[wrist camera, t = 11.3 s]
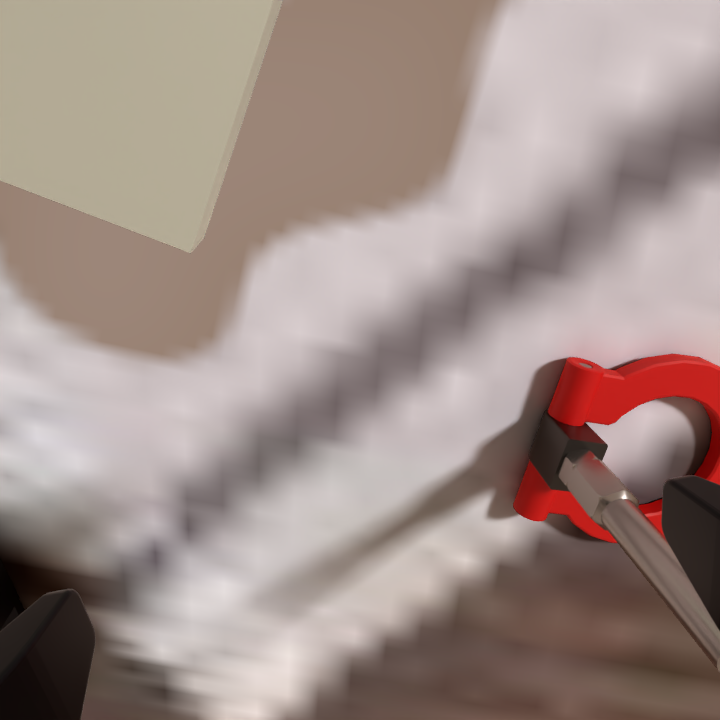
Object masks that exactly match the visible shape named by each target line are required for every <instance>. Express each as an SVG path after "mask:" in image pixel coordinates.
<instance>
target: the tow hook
mask: <svg viewBox="0 0 720 720" xmlns="http://www.w3.org/2000/svg"><path fill="white" fill-rule="evenodd" d="M672 396H676V397H685V398H691V399H693V400H696V401H698V402H700V403H701V404H702V405H703V406H704V408H705V410H706V412H707V414H708V416H709V418H710V421H711V429H712V436H711V442H710V448H709V450H708V453H707V455H706V457H705V459H704V462H703V463H702V465H701V466H700V468H699V469H698V470H697V472H696V473H695V474H694V475H695V476H698V477H700V478H703V479H706V480H708V481H711V482H714V483H716V484H719V485H720V367H719V366H717V365H715V364H713V363H711V362H709V361H706V360H704V359H702V358H700V357H695V356H687V355H679V354H668V355H661V356H654V357H647V358H644V359H641V360H638V361H636V362H633V363H631V364H628V365H625V366H623V367H620V368H618V369H616V370H610V369H604V368H602V367H601V366H599V365H597V364H595V363H593V362H591V361H588V360H585V359H581V358H575V357H569V358H567V360H566V363H565V366H564V368H563V371H562V374H561V377H560V379H559V382H558V385H557V387H556V390H555V393H554V395H553V398H552V401H551V404H550V406H549V409H548V410H546V411H545V412H544V414H543V417H542V420H541V423H540V425H539V428H538V431H537V433H536V436H535V439H534V442H533V444H532V447H531V450H530V452H529V459H530V460H529V463H528V466H527V468H526V471H525V474H524V476H523V479H522V482H521V484H520V487H519V490H518V493H517V495H516V498H515V501H514V503H513V507H514V509H515V510H516V512H518V513H519V514H520V515H521V516H523V517H525V518H527V519H530V520H533V521H544V520H545V519H546V518H547V515H548V513H553V514H562V515H567V516H568V518H569V519H570V520H571V522H572V523H573V524H574V525H576V526H577V527H578V528H580V529H581V530H582V531H584V532H585V533H587V534H588V535H589V536H592V537H595V538H598V539H601V540H604V541H607V542H610V543H618V544H619V545H620V547H621V548H622V549H623V550H624V552H625V553H626V554H627V555H628V557H629V558H630V559H631V560H632V562H633V563H634V564H635V566H636V567H637V568H638V569H639V571H640V572H641V573H642V574H643V576H644V577H645V578H646V580H647V581H648V582H649V583H650V585H651V586H652V587H653V588H654V590H655V591H656V592H657V593H658V595H659V596H660V597H661V599H662V600H663V601H664V602H665V604H666V605H667V606H668V607H669V609H670V610H671V611H672V612H673V614H674V615H675V616H676V618H677V619H678V620H679V621H680V623H681V624H682V625H683V626H684V628H685V629H686V630H687V632H688V633H689V634H690V635H691V637H692V638H693V639H694V640H695V642H696V643H697V644H698V645H699V647H700V648H701V649H702V651H703V652H704V653H705V654H706V656H707V657H708V658H709V659H710V661H711V662H712V663H713V665H714V666H715V667H716V668H717V670H718V671H719V672H720V631H719V629H718V628H717V626H716V625H715V623H714V621H713V620H712V618H711V616H710V615H709V613H708V611H707V610H706V608H705V606H704V604H703V603H702V601H701V599H700V598H699V596H698V594H697V592H696V591H695V589H694V587H693V585H692V584H691V582H690V580H689V579H688V577H687V575H686V573H685V572H684V570H683V568H682V566H681V565H680V563H679V561H678V560H677V558H676V556H675V554H674V553H673V551H672V549H671V547H670V546H669V544H668V542H667V540H666V539H665V536H664V534H663V530H662V525H661V519H662V499H660V500H657V501H655V502H652V503H649V504H643V505H639V500H638V499H637V498H636V497H635V496H634V495H633V494H632V493H631V492H630V491H629V489H628V488H627V487H626V486H625V485H624V484H623V483H622V482H621V481H620V480H619V479H618V478H617V477H616V475H615V474H614V473H613V472H612V471H611V470H610V469H609V468H608V467H607V466H606V465H605V464H604V463H603V461H602V460H603V457H604V455H605V452H606V450H607V447H608V445H607V444H606V443H605V442H604V441H603V440H602V439H601V438H600V437H599V436H598V435H597V434H596V433H595V432H594V431H593V430H592V429H591V428H590V427H589V426H588V425H587V424H586V423H585V422H591V423H598V424H604V425H610V424H612V423H615V422H616V421H617V420H618V419H619V418H620V417H621V416H623V415H624V414H626V413H627V412H629V411H631V410H632V409H634V408H635V407H637V406H638V405H641V404H644V403H646V402H649V401H651V400H654V399H658V398H665V397H672Z"/></svg>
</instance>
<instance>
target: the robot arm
mask: <svg viewBox="0 0 720 720" xmlns="http://www.w3.org/2000/svg"><path fill="white" fill-rule="evenodd" d="M661 525H662V530H663V534H664V536H665V539H666V540H667V542H668V544H669V546H670V547H671V549H672V551H673V553H674V554H675V556H676V558H677V560H678V561H679V563H680V565H681V566H682V568H683V570H684V572H685V573H686V575H687V577H688V579H689V580H690V582H691V584H692V585H693V587H694V589H695V591H696V592H697V594H698V596H699V598H700V599H701V601H702V603H703V604H704V606H705V608H706V610H707V611H708V613H709V615H710V616H711V618H712V620H713V621H714V623H715V625H716V626H717V628H718V629H719V631H720V485H719V484H716V483H714V482H711V481H708V480H706V479H703V478H700V477H698V476H695V475H687V476H682V477H676V478H671V479H668V480H667V481H666V482H665V483H664V486H663V497H662V519H661ZM94 648H95V631H94V628H93V625H92V623H91V620H90V618H89V616H88V614H87V611H86V609H85V607H84V604H83V602H82V600H81V597H80V596H79V594H78V592H77V591H75V590H73V589H66V590H60V591H55V592H50V593H46V594H44V595H43V596H41V597H40V598H39V599H38V600H37V601H36V602H34V603H33V604H32V605H31V606H30V607H28V608H27V609H26V610H24V608H23V606H22V604H21V602H20V600H19V597H18V594H17V592H16V590H15V588H14V586H13V584H12V582H11V580H10V578H9V576H8V574H7V572H6V570H5V568H4V566H3V564H2V562H1V560H0V720H81V715H82V710H83V705H84V700H85V695H86V689H87V684H88V679H89V674H90V669H91V664H92V658H93V653H94Z"/></svg>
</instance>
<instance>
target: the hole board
mask: <svg viewBox="0 0 720 720" xmlns="http://www.w3.org/2000/svg"><path fill="white" fill-rule="evenodd" d="M282 2H283V0H0V181H2V182H5V183H7V184H10V185H13V186H15V187H18V188H21V189H23V190H26V191H28V192H31V193H34V194H36V195H39V196H41V197H44V198H47V199H49V200H52V201H54V202H57V203H60V204H63V205H65V206H68V207H70V208H73V209H76V210H78V211H81V212H83V213H86V214H89V215H91V216H94V217H96V218H99V219H102V220H104V221H107V222H110V223H112V224H115V225H117V226H120V227H123V228H125V229H128V230H130V231H133V232H136V233H138V234H141V235H144V236H146V237H149V238H151V239H154V240H157V241H159V242H162V243H165V244H167V245H170V246H172V247H175V248H178V249H180V250H183V251H186V252H188V253H191V252H192V251H193V250H194V249H195V248H196V247H197V246H198V244H199V243H200V242H201V241H202V240H203V238H204V237H205V234H206V231H207V228H208V225H209V222H210V218H211V216H212V213H213V210H214V207H215V203H216V200H217V197H218V195H219V191H220V188H221V185H222V182H223V179H224V176H225V173H226V170H227V167H228V164H229V161H230V158H231V155H232V152H233V149H234V146H235V143H236V140H237V137H238V134H239V131H240V128H241V125H242V122H243V119H244V116H245V113H246V110H247V107H248V104H249V101H250V98H251V95H252V92H253V89H254V86H255V83H256V80H257V77H258V74H259V71H260V68H261V65H262V62H263V59H264V56H265V53H266V50H267V47H268V44H269V41H270V38H271V35H272V32H273V29H274V26H275V23H276V20H277V17H278V14H279V11H280V8H281V5H282Z"/></svg>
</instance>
